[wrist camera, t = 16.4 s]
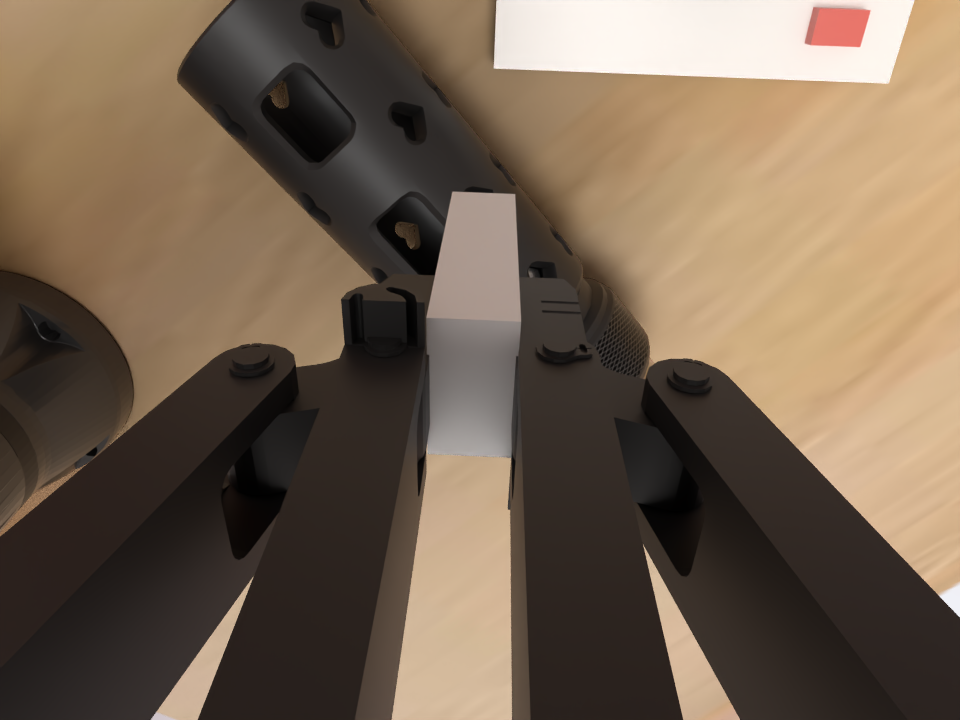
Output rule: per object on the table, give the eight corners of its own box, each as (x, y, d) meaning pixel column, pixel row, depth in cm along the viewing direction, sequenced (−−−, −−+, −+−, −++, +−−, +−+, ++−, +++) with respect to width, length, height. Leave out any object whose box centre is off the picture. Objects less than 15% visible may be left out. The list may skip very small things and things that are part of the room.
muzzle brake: (343, -65, 35) (288, -69, 26) (651, 318, 45) (688, 409, 37) (222, 66, 38) (138, 102, 29) (536, 395, 49) (543, 495, 40)
